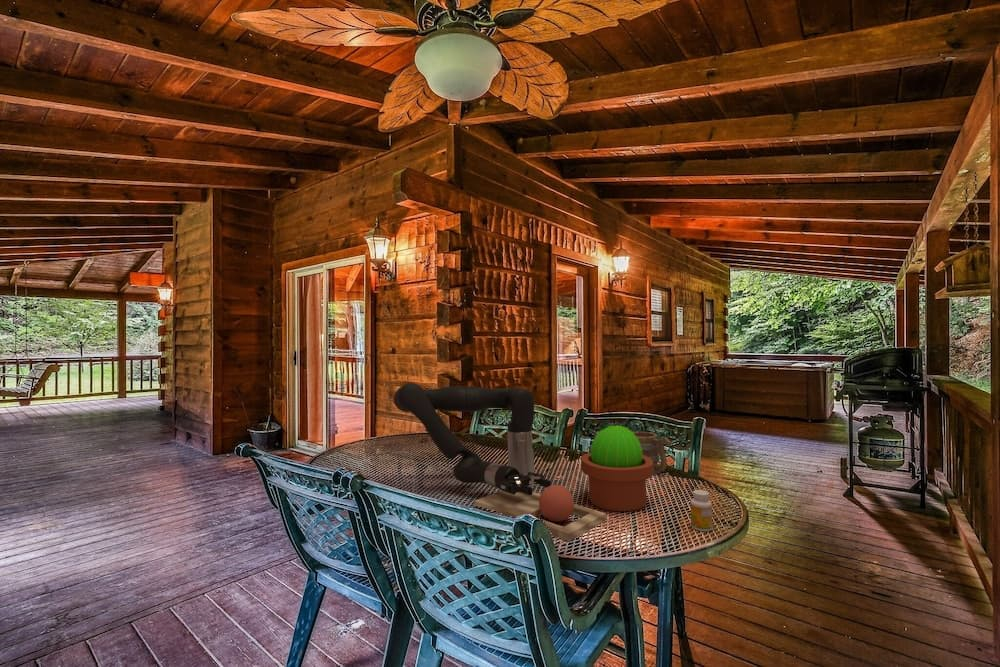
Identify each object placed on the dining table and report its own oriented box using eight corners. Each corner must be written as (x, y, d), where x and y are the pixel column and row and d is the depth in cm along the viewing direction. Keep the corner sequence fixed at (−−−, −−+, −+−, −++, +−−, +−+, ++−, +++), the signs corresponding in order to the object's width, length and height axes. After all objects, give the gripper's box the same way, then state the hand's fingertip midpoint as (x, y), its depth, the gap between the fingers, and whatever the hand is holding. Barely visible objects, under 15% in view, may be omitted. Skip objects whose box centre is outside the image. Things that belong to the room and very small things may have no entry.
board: (513, 491, 158) (513, 486, 158) (606, 520, 133) (605, 513, 133) (474, 506, 145) (474, 500, 145) (569, 541, 120) (569, 533, 120)
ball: (586, 497, 133) (572, 524, 135) (560, 474, 139) (547, 501, 142) (566, 505, 125) (551, 533, 128) (540, 481, 132) (527, 508, 134)
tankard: (620, 468, 183) (619, 430, 183) (645, 464, 188) (644, 427, 188) (655, 482, 165) (654, 440, 165) (682, 477, 170) (681, 437, 170)
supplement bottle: (687, 524, 129) (686, 489, 129) (705, 523, 130) (705, 488, 130) (697, 532, 124) (696, 496, 124) (716, 531, 124) (715, 495, 124)
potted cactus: (667, 512, 138) (665, 428, 138) (597, 518, 135) (595, 432, 134) (634, 488, 160) (632, 415, 160) (573, 492, 156) (571, 418, 156)
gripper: (485, 470, 144) (525, 481, 133) (516, 460, 154) (555, 469, 143) (486, 494, 144) (525, 507, 133) (516, 483, 154) (555, 494, 143)
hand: (541, 487), depth 138 cm, fingers open, 8 cm apart
